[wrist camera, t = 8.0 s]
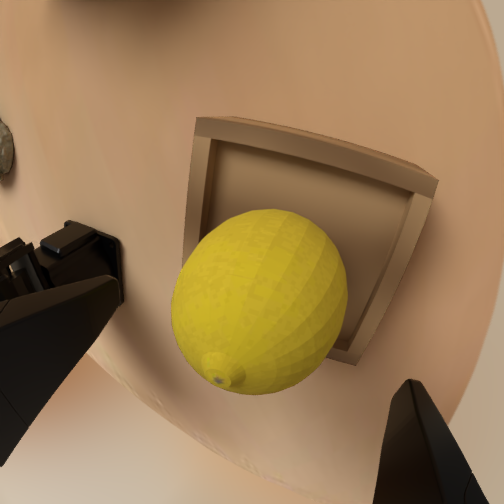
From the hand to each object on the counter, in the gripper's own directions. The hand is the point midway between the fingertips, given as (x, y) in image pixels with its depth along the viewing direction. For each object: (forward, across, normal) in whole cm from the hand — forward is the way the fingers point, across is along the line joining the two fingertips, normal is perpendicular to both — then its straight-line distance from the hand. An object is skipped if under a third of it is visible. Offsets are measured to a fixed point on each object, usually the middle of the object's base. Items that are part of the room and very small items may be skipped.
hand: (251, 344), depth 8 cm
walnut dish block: (+10, 0, 0) cm, 10 cm away
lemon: (+7, 0, 0) cm, 7 cm away
